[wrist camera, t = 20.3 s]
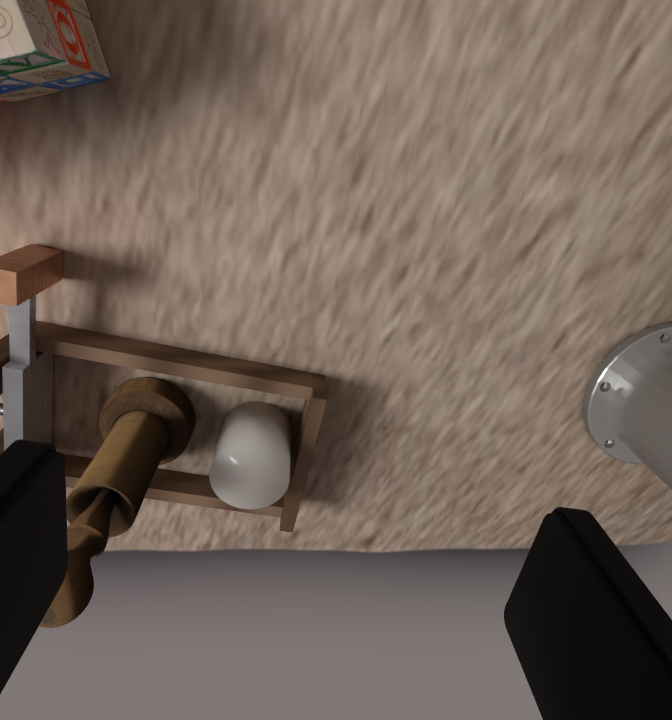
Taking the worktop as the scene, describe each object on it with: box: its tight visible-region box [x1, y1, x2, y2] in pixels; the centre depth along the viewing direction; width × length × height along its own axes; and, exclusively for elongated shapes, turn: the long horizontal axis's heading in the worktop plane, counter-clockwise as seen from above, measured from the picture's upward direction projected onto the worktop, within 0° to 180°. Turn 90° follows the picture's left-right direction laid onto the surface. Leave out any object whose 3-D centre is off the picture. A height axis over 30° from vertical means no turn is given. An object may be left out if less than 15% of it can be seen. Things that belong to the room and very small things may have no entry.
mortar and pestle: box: [39, 378, 195, 628], centre depth 31 cm, size 7×6×18 cm
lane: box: [0, 321, 327, 532], centre depth 37 cm, size 22×12×5 cm, turn 77°
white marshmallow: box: [209, 401, 291, 509], centre depth 37 cm, size 6×6×6 cm
